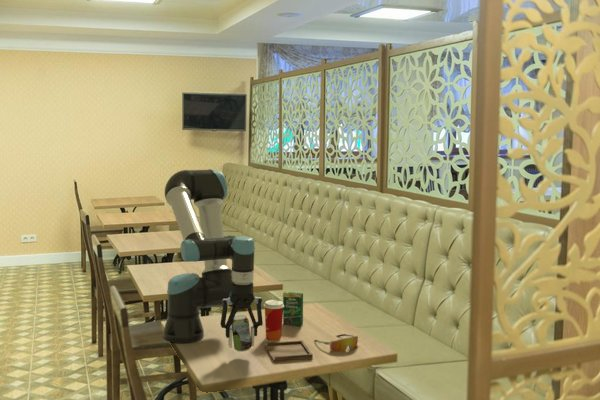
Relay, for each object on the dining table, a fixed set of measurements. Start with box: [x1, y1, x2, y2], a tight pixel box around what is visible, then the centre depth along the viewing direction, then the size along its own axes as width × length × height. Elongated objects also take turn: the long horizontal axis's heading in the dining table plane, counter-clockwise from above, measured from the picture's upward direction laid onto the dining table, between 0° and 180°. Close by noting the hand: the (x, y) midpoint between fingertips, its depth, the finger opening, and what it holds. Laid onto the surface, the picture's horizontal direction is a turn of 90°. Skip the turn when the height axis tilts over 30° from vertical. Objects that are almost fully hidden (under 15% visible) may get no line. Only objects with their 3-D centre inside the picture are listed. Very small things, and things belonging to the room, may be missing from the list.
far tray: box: [264, 339, 313, 363], centre depth 233 cm, size 14×14×2 cm
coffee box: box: [282, 291, 304, 327], centre depth 263 cm, size 8×3×13 cm, turn 70°
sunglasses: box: [314, 333, 359, 352], centre depth 243 cm, size 14×15×5 cm
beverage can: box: [231, 314, 253, 353], centre depth 227 cm, size 6×7×12 cm
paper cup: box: [263, 299, 284, 342], centre depth 247 cm, size 8×8×14 cm
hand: (241, 345), depth 228 cm, fingers closed on beverage can, 7 cm apart
